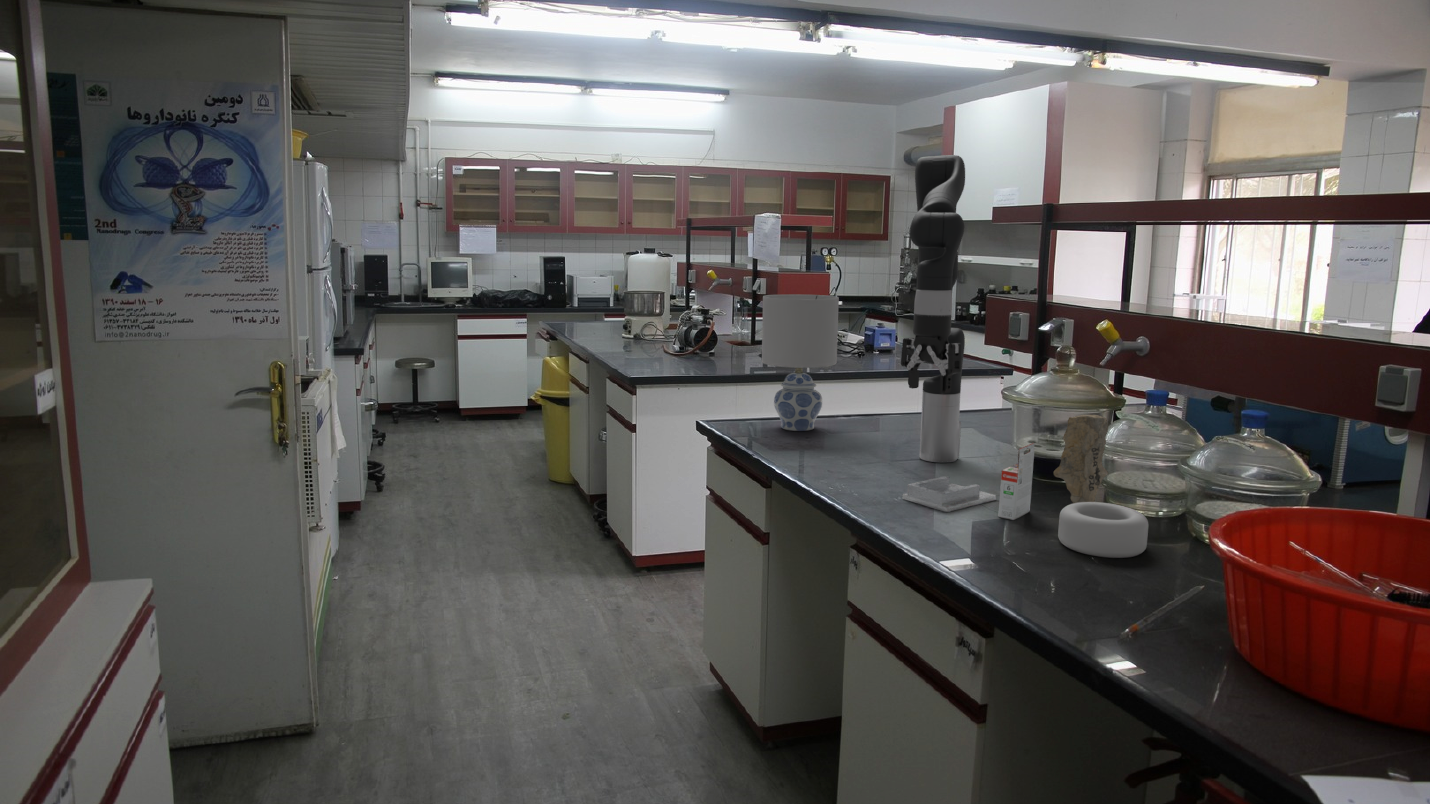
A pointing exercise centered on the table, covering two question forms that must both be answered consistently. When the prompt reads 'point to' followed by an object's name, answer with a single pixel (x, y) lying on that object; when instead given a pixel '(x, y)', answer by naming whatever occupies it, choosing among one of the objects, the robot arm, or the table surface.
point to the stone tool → (1083, 456)
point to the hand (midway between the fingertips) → (928, 390)
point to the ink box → (1017, 486)
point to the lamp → (799, 351)
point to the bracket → (945, 494)
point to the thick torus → (1103, 529)
